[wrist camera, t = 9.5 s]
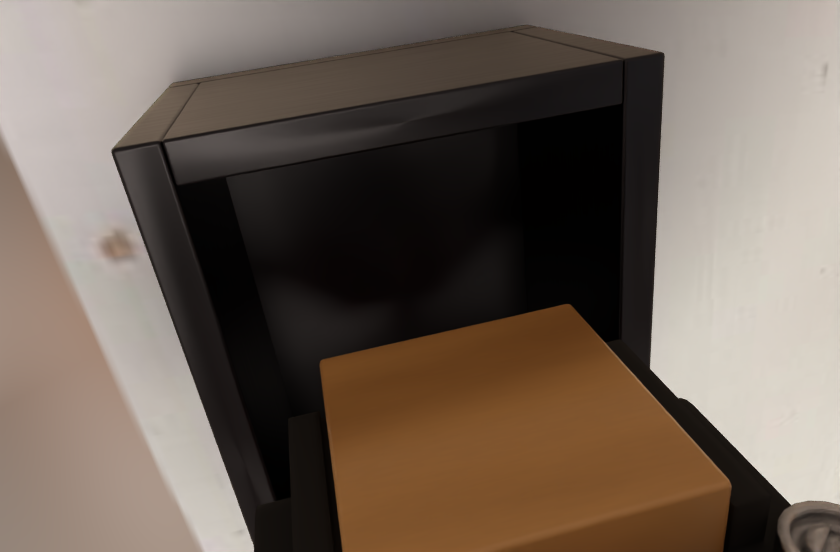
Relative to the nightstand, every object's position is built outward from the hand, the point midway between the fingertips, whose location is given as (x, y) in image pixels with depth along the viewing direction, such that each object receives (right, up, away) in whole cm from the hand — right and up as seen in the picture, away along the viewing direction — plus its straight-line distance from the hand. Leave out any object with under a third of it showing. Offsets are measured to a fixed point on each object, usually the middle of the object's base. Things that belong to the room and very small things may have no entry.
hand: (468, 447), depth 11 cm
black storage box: (-2, +3, +8) cm, 9 cm away
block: (0, 0, +1) cm, 1 cm away
